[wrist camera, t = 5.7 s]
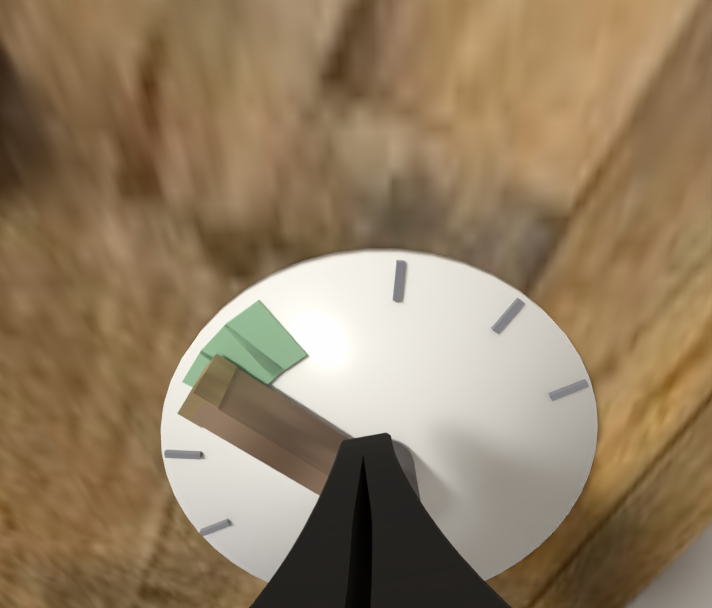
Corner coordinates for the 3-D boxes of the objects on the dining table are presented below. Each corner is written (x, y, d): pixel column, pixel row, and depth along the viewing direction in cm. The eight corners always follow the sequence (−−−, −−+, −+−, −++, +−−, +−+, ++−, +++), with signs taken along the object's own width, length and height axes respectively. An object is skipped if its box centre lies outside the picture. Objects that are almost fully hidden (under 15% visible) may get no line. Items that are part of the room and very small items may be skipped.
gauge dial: (535, 593, 26) (544, 615, 25) (186, 580, 25) (179, 601, 24) (643, 262, 18) (661, 272, 17) (145, 232, 18) (131, 240, 16)
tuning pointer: (428, 462, 20) (440, 516, 18) (383, 503, 21) (388, 561, 19) (231, 332, 18) (209, 372, 15) (190, 386, 19) (162, 432, 16)
